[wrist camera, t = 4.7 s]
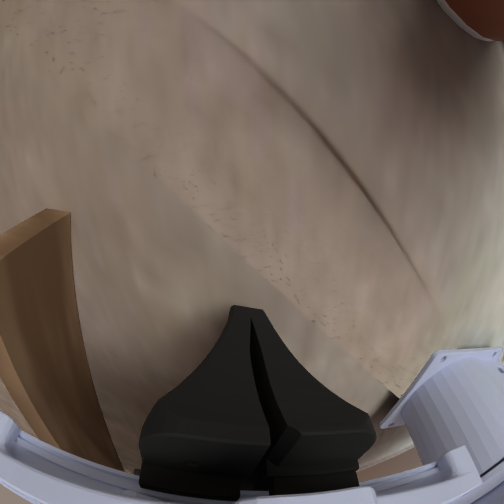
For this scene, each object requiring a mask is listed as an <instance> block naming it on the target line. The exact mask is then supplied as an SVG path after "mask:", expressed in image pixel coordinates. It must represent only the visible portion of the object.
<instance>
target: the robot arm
mask: <svg viewBox="0 0 504 504" xmlns="http://www.w3.org/2000/svg"><path fill="white" fill-rule="evenodd" d="M502 352H503V348H502V347H501V346H498V347H487V348H473V349H455V350H438V351H436V352H434V353H433V354H432V355H431V357H430V358H429V360H428V361H427V363H426V364H425V366H424V367H423V369H422V370H421V371H420V373H419V374H418V376H417V377H416V378H415V380H414V381H413V382H412V384H411V385H410V386H409V388H408V389H407V390H406V392H405V393H404V394H403V395H402V397H401V398H400V399H399V400H398V402H397V403H396V404H395V405H394V407H393V408H392V409H391V410H390V411H389V413H388V414H387V415H386V416H385V417H384V418H383V419H382V421H381V422H380V423H379V427H380V428H381V429H385V428H392V427H398V426H403V425H406V427H407V429H408V431H409V433H410V436H411V438H412V440H413V443H414V445H415V447H416V450H417V452H418V454H419V457H420V459H421V462H422V464H423V466H421V467H418V468H415V469H411V470H408V471H404V472H401V473H397V474H393V475H389V476H386V477H381V478H377V479H372V480H368V481H363V482H358V478H357V474H356V471H357V470H358V469H359V464H358V461H357V460H358V459H359V458H360V457H361V456H362V455H363V454H364V453H365V452H366V451H367V450H369V449H370V447H371V446H372V445H373V444H374V442H375V440H376V433H375V430H374V427H373V425H372V422H371V420H370V417H369V415H368V413H366V412H364V411H362V410H360V409H358V408H356V407H355V406H353V405H351V404H349V403H348V402H346V401H344V400H343V399H341V398H340V397H338V396H337V395H335V394H334V393H333V392H331V391H330V390H329V389H327V388H326V387H325V386H324V385H322V384H321V383H320V382H319V381H318V380H316V379H315V378H314V377H313V376H312V375H311V374H310V373H309V372H308V371H307V370H306V369H305V368H304V367H303V366H302V365H301V364H300V363H299V362H298V361H297V359H296V358H295V357H294V356H293V355H292V353H291V352H290V351H289V350H288V348H287V347H286V345H285V344H284V343H283V341H282V340H281V338H280V337H279V335H278V334H277V332H276V331H275V329H274V327H273V326H272V324H271V322H270V321H269V319H268V317H267V316H266V314H265V312H264V311H263V310H262V309H255V308H249V307H242V306H236V305H233V306H232V307H231V309H230V313H229V318H228V322H227V324H226V326H225V328H224V330H223V332H222V334H221V336H220V338H219V339H218V341H217V343H216V344H215V346H214V347H213V349H212V350H211V352H210V353H209V354H208V355H207V357H206V358H205V359H204V360H203V362H202V363H201V364H200V365H199V366H198V367H197V368H196V369H195V371H194V372H193V373H192V374H191V375H189V376H188V377H187V378H186V379H185V380H184V381H183V382H182V383H180V384H179V385H178V386H177V387H176V388H174V389H173V390H172V391H170V392H169V393H168V394H166V395H165V396H163V397H162V398H160V399H159V400H158V401H157V403H156V404H155V406H154V407H153V409H152V410H151V412H150V413H149V415H148V417H147V419H146V420H145V423H144V425H143V428H142V431H141V435H140V440H139V449H140V453H141V458H142V466H141V471H140V476H138V475H134V474H130V473H126V472H123V471H119V470H116V469H113V468H109V467H106V466H103V465H100V464H97V463H94V462H91V461H89V460H86V459H83V458H80V457H78V456H75V455H73V454H70V453H68V452H66V451H63V450H61V449H59V448H56V447H54V446H52V445H50V444H48V443H45V442H43V441H41V440H39V439H37V438H35V437H33V436H31V435H29V434H28V433H26V432H24V431H22V430H20V428H19V426H18V424H17V423H16V422H15V421H14V419H12V418H11V417H10V416H9V415H7V414H6V413H4V412H2V411H1V410H0V484H2V485H3V486H5V487H6V488H8V489H9V490H11V491H13V492H14V493H16V494H18V495H19V496H21V497H22V498H24V499H26V500H28V501H29V502H31V503H33V504H504V366H503V364H502V363H501V362H500V361H499V357H500V356H501V354H502Z"/></svg>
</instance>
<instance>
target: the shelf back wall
mask: <svg viewBox="0 0 504 504" xmlns="http://www.w3.org/2000/svg"><path fill="white" fill-rule="evenodd" d="M0 377H1V379H2V381H3V382H4V384H5V386H6V388H7V390H8V391H9V393H10V395H11V397H12V398H13V400H14V402H15V403H16V405H17V407H18V408H19V410H20V411H21V413H22V415H23V416H24V418H25V419H26V421H27V422H28V424H29V425H30V427H31V428H32V429H33V431H34V432H35V434H36V435H37V436H38V438H39V439H40V440H41V441H43V442H45V443H48V444H50V445H52V446H54V447H56V448H59V449H61V450H63V451H66V452H68V453H70V454H73V455H75V456H78V457H80V458H83V459H86V460H89V461H91V462H94V463H97V464H100V465H103V466H106V467H109V468H113V469H116V470H119V471H124V469H123V467H122V465H121V462H120V460H119V458H118V455H117V453H116V450H115V448H114V445H113V443H112V440H111V438H110V435H109V432H108V430H107V427H106V424H105V421H104V418H103V415H102V412H101V409H100V406H99V403H98V399H97V396H96V392H95V389H94V385H93V382H92V378H91V374H90V370H89V366H88V362H87V358H86V353H85V348H84V344H83V339H82V333H81V328H80V322H79V316H78V309H77V302H76V295H75V287H74V277H73V266H72V252H71V227H70V212H64V211H58V210H52V209H45V210H43V211H41V212H39V213H37V214H36V215H34V216H32V217H30V218H29V219H27V220H25V221H23V222H22V223H20V224H18V225H17V226H15V227H13V228H12V229H10V230H8V231H7V232H5V233H3V234H2V235H0Z"/></svg>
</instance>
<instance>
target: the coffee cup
mask: <svg viewBox="0 0 504 504" xmlns="http://www.w3.org/2000/svg"><path fill="white" fill-rule="evenodd" d="M436 1H437V3H438V4H439V5H440V7H441V8H442V10H443V11H444V12H445V13H446V14H447V15H448V16H449V17H450V18H451V19H452V20H453V21H454V22H455V23H456V24H457V25H458V26H459V27H460V28H461V29H463V30H464V31H466V32H467V33H469V34H470V35H471V36H473V37H474V38H476V39H479V40H483V41H487V42H491V41H504V0H436Z"/></svg>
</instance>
